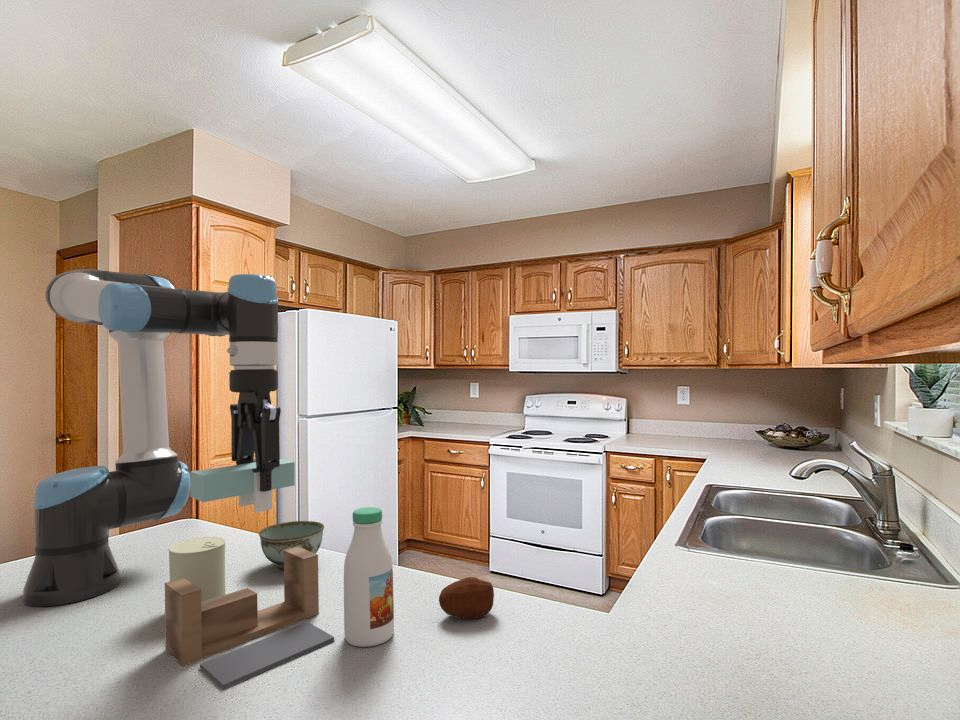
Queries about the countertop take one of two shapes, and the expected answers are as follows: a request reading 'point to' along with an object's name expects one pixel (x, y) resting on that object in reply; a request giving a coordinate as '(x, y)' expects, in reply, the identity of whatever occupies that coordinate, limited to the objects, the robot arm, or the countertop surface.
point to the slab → (236, 480)
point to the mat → (265, 654)
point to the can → (200, 564)
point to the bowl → (290, 539)
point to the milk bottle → (368, 582)
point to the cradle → (236, 611)
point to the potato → (467, 598)
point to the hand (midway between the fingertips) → (255, 507)
